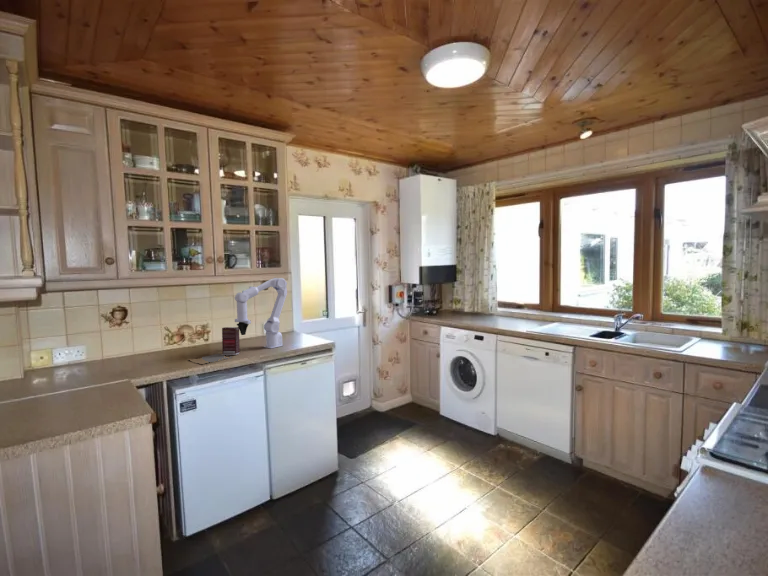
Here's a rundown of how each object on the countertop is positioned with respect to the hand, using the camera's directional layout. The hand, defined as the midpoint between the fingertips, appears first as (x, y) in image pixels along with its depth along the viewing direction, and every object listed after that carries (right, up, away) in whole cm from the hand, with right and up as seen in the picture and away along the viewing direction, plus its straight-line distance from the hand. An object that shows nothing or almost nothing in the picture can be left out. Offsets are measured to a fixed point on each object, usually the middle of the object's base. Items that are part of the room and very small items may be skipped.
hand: (243, 334), depth 231 cm
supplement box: (-5, -11, -6) cm, 13 cm away
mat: (-13, -12, -15) cm, 23 cm away
